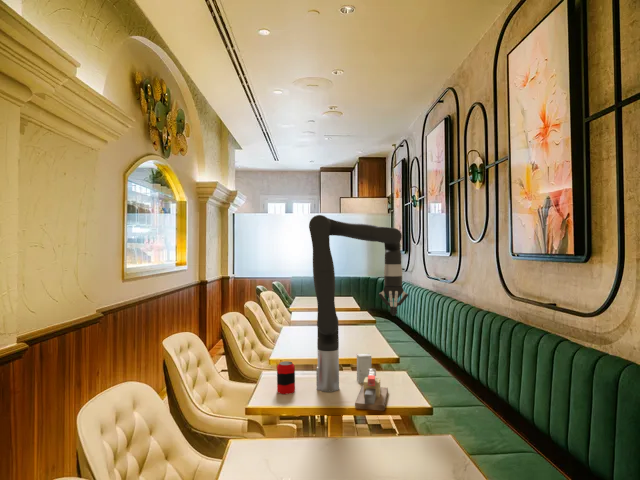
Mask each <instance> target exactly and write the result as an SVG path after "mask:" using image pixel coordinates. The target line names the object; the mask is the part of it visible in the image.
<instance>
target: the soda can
mask: <svg viewBox="0 0 640 480" xmlns="http://www.w3.org/2000/svg"><path fill="white" fill-rule="evenodd" d="M295 370H296V368H295V365H294V363H293V361H281V362H279V363H278V365H277V366H276V381H277V382H276V385H277V386H276V388H277V389H276V392H277V393H279V394H281V395H291V394H293V393H294V392H295V391H296V371H295Z"/></svg>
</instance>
